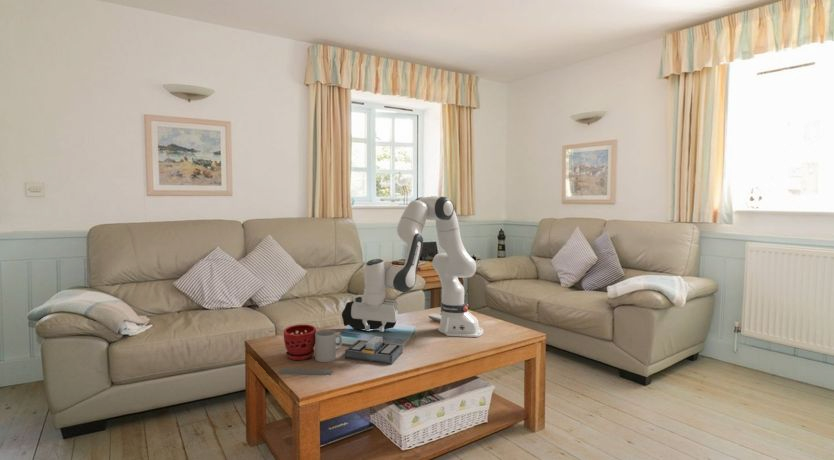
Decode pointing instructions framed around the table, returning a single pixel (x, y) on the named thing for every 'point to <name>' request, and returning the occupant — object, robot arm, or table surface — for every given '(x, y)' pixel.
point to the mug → (326, 345)
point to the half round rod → (306, 372)
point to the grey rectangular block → (374, 344)
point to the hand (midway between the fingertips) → (374, 330)
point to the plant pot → (299, 341)
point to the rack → (381, 356)
